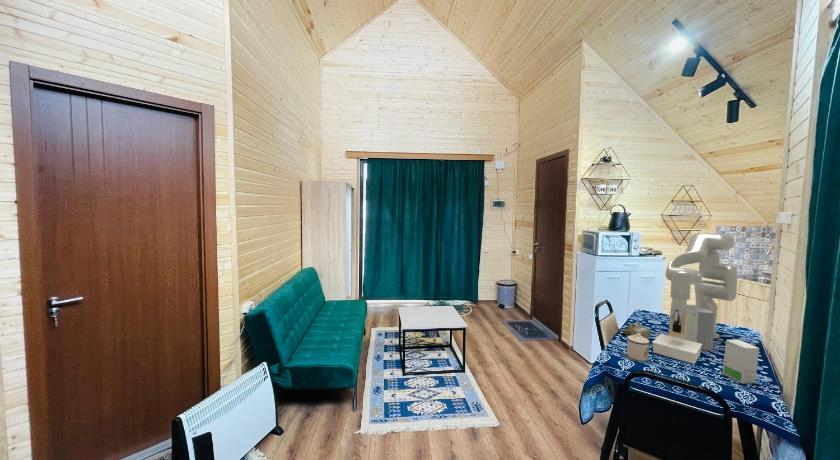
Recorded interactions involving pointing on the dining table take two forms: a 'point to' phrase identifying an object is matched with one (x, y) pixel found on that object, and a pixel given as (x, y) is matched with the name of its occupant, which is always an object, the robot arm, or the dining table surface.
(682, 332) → the kraft carton
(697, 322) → the hard drive box
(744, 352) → the skincare box
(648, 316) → the dining table surface
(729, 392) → the dining table surface
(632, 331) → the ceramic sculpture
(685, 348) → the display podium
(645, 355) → the teacup with lid
